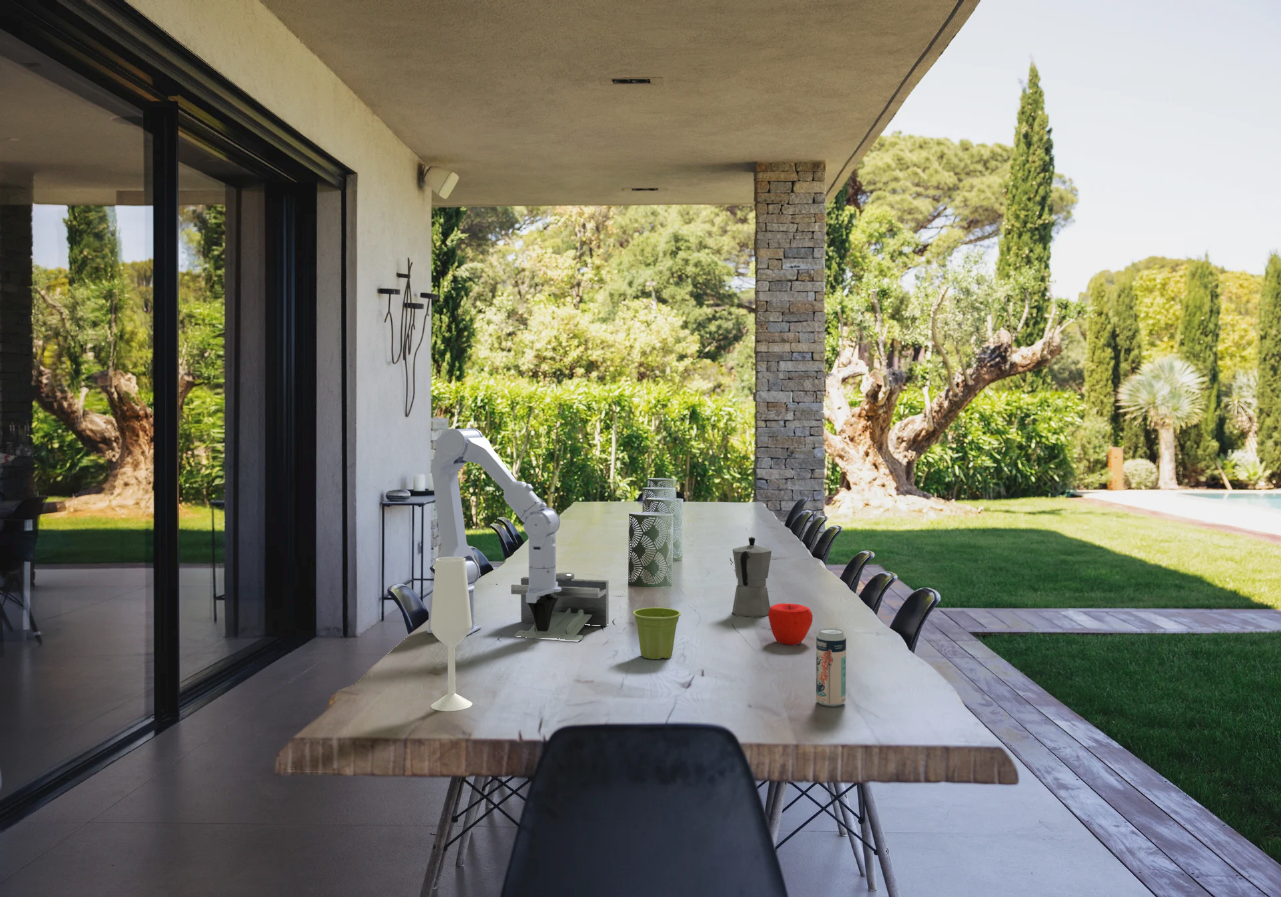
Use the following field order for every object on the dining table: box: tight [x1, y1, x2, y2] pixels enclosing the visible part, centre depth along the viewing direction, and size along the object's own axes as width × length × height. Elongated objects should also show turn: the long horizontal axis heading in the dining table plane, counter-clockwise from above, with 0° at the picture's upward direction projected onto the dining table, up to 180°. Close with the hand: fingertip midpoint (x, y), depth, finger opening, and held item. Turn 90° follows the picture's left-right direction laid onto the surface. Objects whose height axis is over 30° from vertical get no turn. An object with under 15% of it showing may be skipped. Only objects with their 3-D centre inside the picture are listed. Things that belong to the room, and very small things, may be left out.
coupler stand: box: [510, 572, 610, 627], centre depth 226 cm, size 20×9×11 cm, turn 76°
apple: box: [767, 602, 813, 646], centre depth 210 cm, size 9×9×8 cm
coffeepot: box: [732, 536, 772, 618], centre depth 239 cm, size 15×9×18 cm, turn 160°
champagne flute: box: [430, 557, 473, 712], centre depth 166 cm, size 7×7×24 cm
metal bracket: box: [513, 608, 592, 640], centre depth 219 cm, size 14×6×15 cm
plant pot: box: [632, 607, 682, 660], centre depth 199 cm, size 9×9×9 cm
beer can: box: [815, 628, 847, 708], centre depth 167 cm, size 5×5×12 cm
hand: (542, 630), depth 215 cm, fingers closed
